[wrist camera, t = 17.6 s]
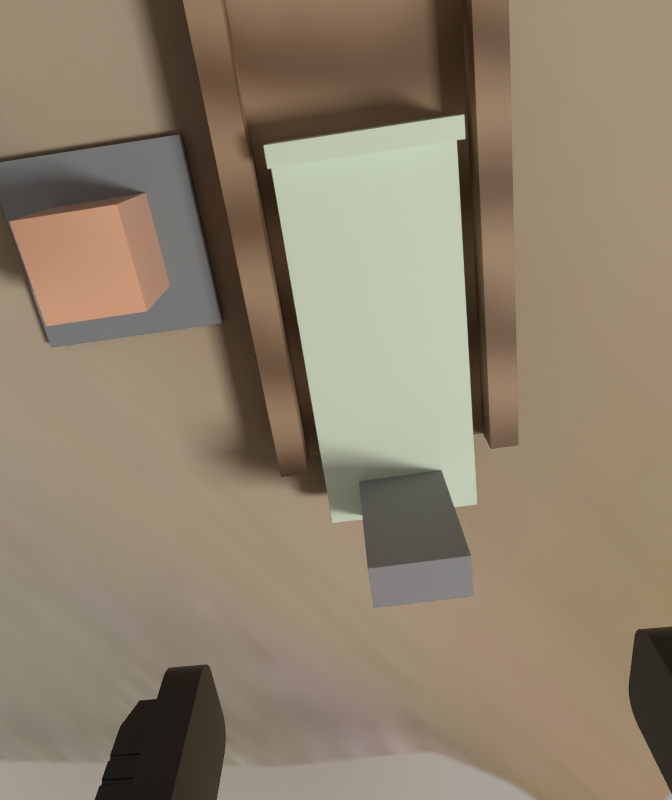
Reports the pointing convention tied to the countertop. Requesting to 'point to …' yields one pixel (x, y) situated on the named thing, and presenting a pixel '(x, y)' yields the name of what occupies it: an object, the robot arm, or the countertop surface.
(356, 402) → the light green piece
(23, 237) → the cube
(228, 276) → the countertop surface
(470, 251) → the lane board
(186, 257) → the pad
